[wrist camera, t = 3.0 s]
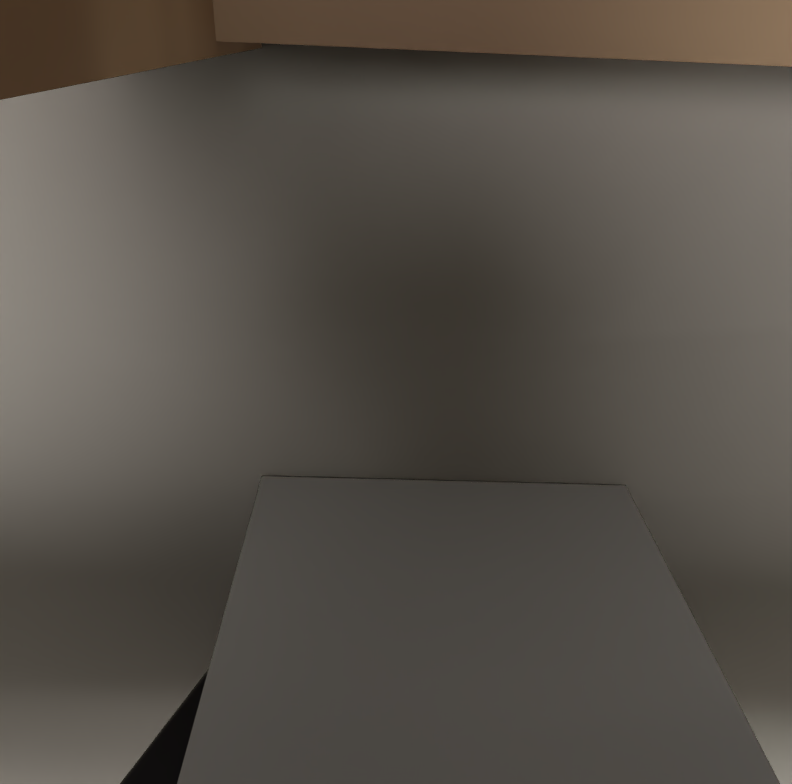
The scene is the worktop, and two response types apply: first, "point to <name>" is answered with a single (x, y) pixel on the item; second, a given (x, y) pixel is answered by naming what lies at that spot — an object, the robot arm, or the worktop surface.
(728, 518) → the worktop surface
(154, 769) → the robot arm
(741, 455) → the worktop surface
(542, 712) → the grey cube block
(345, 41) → the trapdoor frame
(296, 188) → the worktop surface
